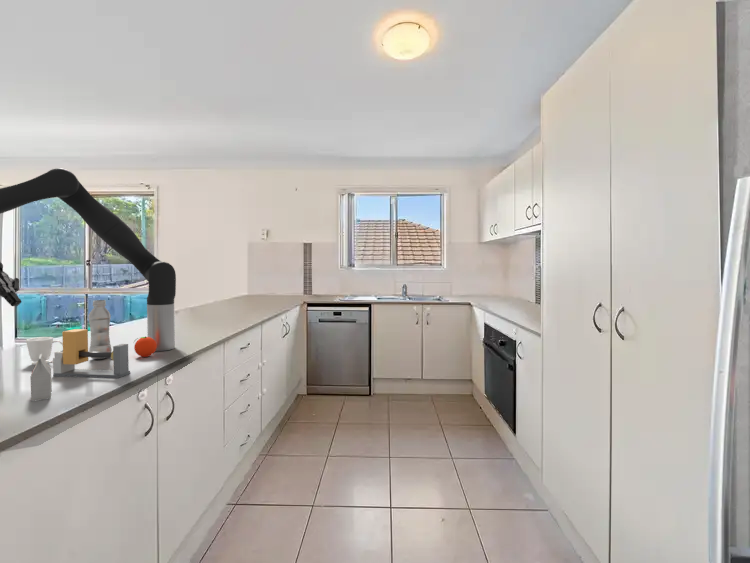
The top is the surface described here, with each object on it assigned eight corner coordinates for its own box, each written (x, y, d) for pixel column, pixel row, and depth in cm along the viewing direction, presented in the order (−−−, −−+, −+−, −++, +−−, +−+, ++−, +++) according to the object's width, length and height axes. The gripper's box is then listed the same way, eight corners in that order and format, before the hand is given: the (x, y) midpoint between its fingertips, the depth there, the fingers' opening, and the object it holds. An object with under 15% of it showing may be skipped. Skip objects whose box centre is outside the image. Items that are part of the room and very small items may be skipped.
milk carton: (51, 391, 107) (50, 352, 106) (50, 398, 102) (49, 358, 101) (33, 393, 105) (32, 354, 104) (31, 401, 99) (30, 360, 99)
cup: (28, 362, 137) (28, 337, 136) (66, 358, 142) (65, 335, 141) (24, 367, 130) (23, 341, 130) (63, 363, 136) (63, 338, 135)
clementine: (127, 358, 143) (126, 338, 142) (139, 354, 150) (138, 334, 149) (149, 359, 142) (149, 338, 142) (161, 354, 149) (160, 334, 149)
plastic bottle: (93, 362, 137) (92, 301, 136) (86, 359, 141) (84, 300, 140) (115, 358, 142) (114, 300, 141) (107, 355, 147) (105, 299, 146)
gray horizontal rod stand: (53, 375, 121) (52, 345, 120) (67, 371, 126) (66, 341, 125) (118, 377, 119) (118, 347, 119) (130, 373, 124) (129, 343, 124)
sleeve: (63, 364, 121) (62, 331, 120) (75, 360, 125) (75, 329, 125) (76, 364, 120) (75, 331, 120) (88, 360, 125) (87, 329, 124)
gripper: (-35, 250, 116) (6, 297, 116) (8, 253, 129) (44, 295, 129) (-55, 267, 116) (-14, 314, 116) (-10, 268, 129) (26, 311, 129)
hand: (17, 304), depth 122 cm, fingers closed
